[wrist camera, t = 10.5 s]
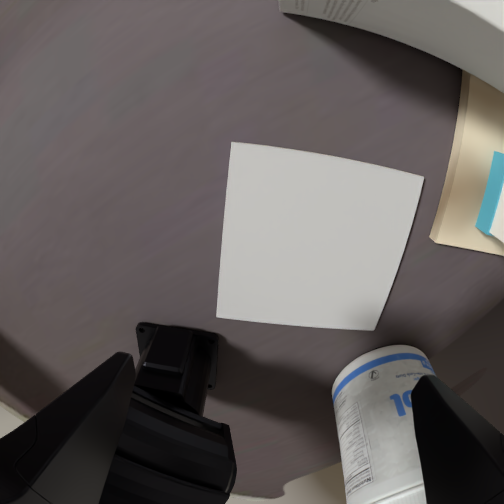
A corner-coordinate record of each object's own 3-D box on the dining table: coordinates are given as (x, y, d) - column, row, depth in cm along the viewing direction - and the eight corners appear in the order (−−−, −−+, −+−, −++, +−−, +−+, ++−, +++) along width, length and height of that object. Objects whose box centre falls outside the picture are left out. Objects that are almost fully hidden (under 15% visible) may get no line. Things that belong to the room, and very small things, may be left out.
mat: (372, 327, 22) (373, 330, 22) (217, 313, 22) (216, 317, 22) (421, 175, 17) (424, 177, 17) (232, 141, 17) (231, 142, 16)
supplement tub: (439, 336, 23) (508, 471, 10) (405, 401, 27) (441, 518, 14) (340, 342, 23) (381, 518, 10) (319, 410, 27) (335, 545, 14)
